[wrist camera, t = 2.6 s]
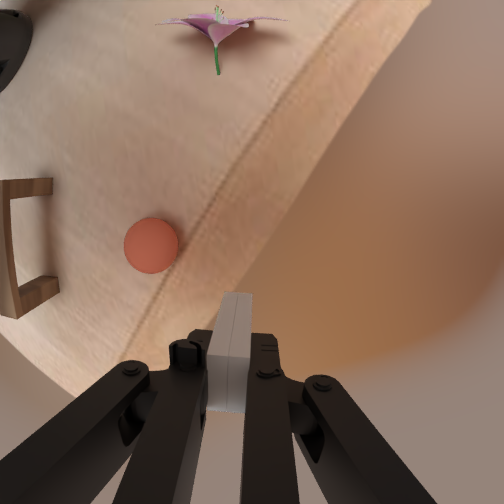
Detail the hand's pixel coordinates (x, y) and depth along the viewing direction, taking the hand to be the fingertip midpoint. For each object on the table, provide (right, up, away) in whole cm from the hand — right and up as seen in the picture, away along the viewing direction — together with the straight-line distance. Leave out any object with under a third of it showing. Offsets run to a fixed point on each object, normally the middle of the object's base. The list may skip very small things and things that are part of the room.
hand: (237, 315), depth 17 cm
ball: (-9, +4, +13) cm, 16 cm away
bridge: (-25, +5, +16) cm, 30 cm away
